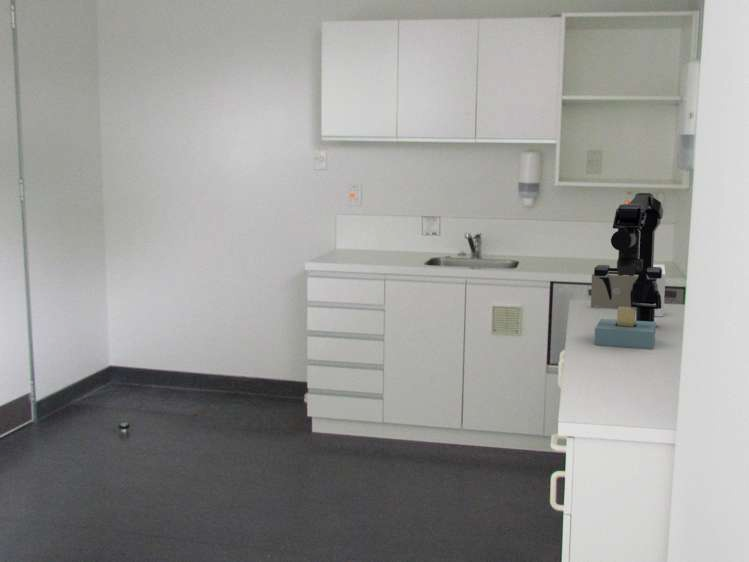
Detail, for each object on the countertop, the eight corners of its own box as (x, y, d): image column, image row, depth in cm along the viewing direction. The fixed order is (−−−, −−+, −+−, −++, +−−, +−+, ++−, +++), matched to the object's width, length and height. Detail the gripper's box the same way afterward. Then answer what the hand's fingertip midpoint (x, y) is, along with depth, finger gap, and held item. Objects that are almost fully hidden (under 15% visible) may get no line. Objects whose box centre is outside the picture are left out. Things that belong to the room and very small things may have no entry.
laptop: (643, 306, 296) (644, 272, 294) (641, 311, 284) (643, 276, 282) (594, 303, 302) (595, 270, 301) (590, 308, 291) (591, 274, 289)
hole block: (600, 334, 243) (601, 318, 243) (655, 338, 237) (655, 321, 237) (594, 344, 229) (595, 328, 228) (652, 349, 223) (653, 331, 222)
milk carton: (663, 317, 272) (666, 262, 269) (642, 316, 273) (644, 262, 271) (660, 313, 279) (662, 260, 276) (639, 312, 280) (641, 260, 278)
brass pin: (617, 336, 236) (619, 306, 235) (634, 337, 234) (635, 307, 233) (616, 339, 232) (617, 309, 230) (632, 340, 230) (634, 310, 229)
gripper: (592, 249, 225) (591, 302, 227) (661, 251, 218) (659, 306, 220) (597, 246, 235) (595, 297, 237) (663, 248, 228) (660, 300, 231)
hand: (626, 300), depth 231 cm, fingers open, 9 cm apart
